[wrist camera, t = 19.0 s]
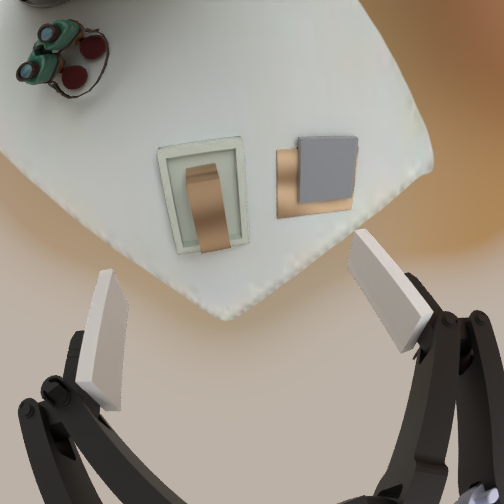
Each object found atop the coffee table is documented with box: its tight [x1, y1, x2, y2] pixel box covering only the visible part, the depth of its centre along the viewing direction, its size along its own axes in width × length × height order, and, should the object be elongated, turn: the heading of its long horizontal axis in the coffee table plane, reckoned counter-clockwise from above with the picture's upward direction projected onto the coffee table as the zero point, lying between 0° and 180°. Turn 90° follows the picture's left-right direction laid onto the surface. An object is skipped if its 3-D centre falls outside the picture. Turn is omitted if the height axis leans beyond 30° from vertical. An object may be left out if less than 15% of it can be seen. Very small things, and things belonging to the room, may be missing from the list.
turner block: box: [186, 163, 231, 253], centre depth 38 cm, size 10×4×6 cm, turn 5°
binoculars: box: [16, 19, 109, 99], centre depth 21 cm, size 9×11×10 cm
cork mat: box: [277, 148, 358, 218], centre depth 43 cm, size 11×13×1 cm
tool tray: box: [157, 136, 249, 254], centre depth 40 cm, size 16×11×2 cm
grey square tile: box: [297, 136, 358, 204], centre depth 41 cm, size 1×9×10 cm
